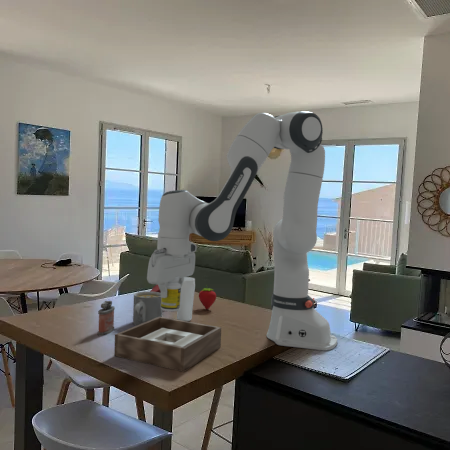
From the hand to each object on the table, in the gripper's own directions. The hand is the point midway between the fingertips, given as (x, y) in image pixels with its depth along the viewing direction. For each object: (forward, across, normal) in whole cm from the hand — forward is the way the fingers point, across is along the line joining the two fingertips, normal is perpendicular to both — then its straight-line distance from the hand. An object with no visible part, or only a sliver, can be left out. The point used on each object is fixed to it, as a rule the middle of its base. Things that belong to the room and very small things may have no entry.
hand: (171, 295), depth 129 cm
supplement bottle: (+4, 0, 0) cm, 4 cm away
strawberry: (+16, +49, +13) cm, 53 cm away
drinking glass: (+16, +31, +13) cm, 38 cm away
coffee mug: (+17, +19, +22) cm, 34 cm away
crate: (+16, 0, 0) cm, 16 cm away
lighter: (+17, +5, +27) cm, 32 cm away
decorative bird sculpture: (+17, +41, +30) cm, 53 cm away
